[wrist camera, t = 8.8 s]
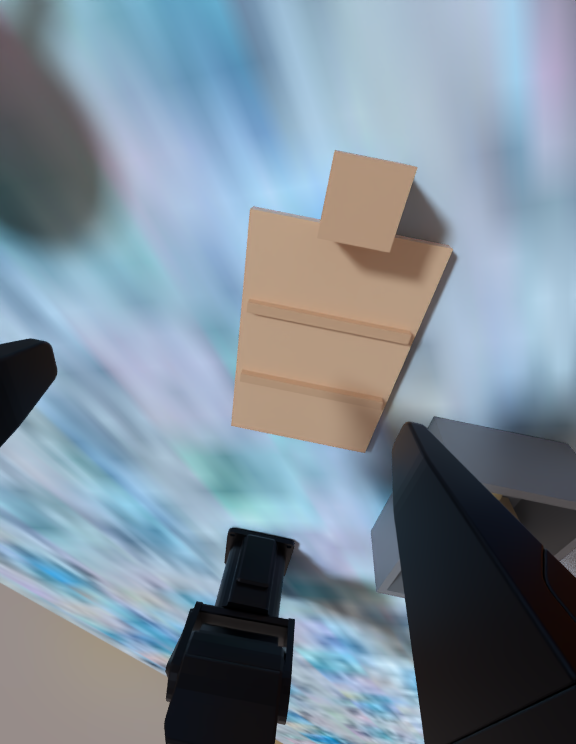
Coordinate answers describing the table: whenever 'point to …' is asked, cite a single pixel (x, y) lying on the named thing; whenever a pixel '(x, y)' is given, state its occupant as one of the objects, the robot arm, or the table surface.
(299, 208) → the table surface
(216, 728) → the robot arm
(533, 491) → the tub
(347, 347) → the lid
